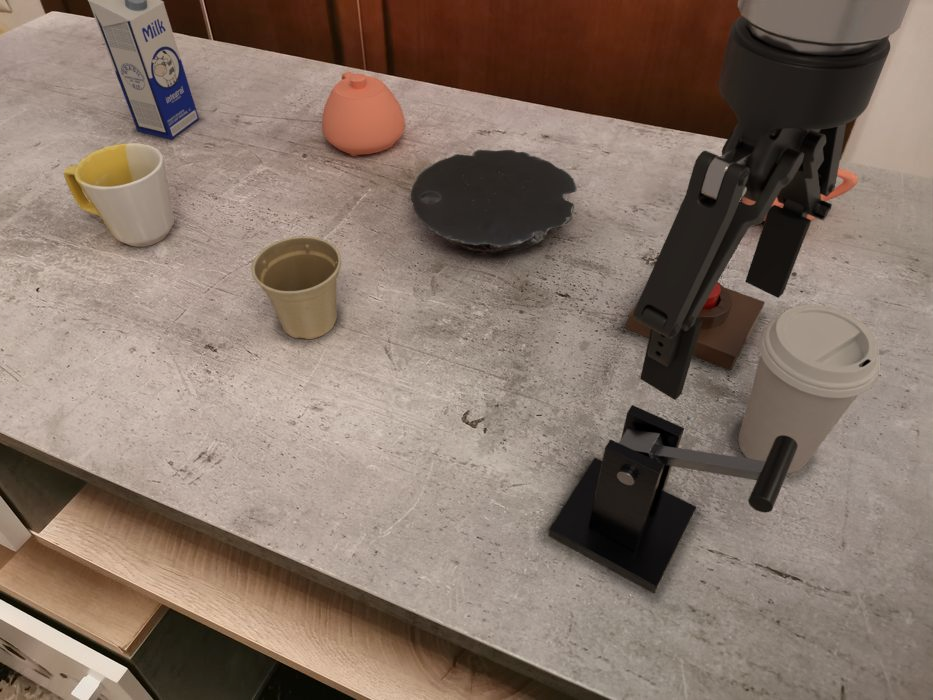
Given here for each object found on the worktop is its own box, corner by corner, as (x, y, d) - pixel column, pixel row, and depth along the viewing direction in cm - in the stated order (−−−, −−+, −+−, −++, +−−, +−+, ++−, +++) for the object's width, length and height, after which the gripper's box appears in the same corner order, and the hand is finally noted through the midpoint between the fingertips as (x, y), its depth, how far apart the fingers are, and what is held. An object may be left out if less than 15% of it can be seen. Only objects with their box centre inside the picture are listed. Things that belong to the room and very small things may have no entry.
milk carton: (166, 110, 118) (122, -20, 104) (200, 118, 116) (160, -14, 102) (136, 131, 113) (86, -2, 99) (171, 140, 112) (124, 5, 97)
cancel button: (721, 295, 80) (725, 283, 79) (710, 314, 78) (714, 302, 77) (690, 283, 81) (693, 271, 80) (678, 302, 79) (681, 290, 78)
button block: (759, 315, 83) (769, 289, 80) (730, 371, 77) (740, 344, 74) (660, 279, 87) (666, 253, 85) (625, 328, 82) (631, 302, 79)
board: (378, 246, 93) (373, 213, 89) (457, 162, 106) (456, 130, 102) (536, 298, 85) (539, 264, 82) (600, 201, 99) (605, 168, 95)
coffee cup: (750, 496, 66) (802, 389, 56) (705, 416, 73) (745, 306, 62) (845, 478, 68) (915, 369, 57) (793, 400, 74) (847, 290, 63)
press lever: (800, 456, 52) (795, 432, 51) (775, 519, 48) (769, 494, 47) (644, 434, 60) (636, 412, 59) (613, 486, 56) (604, 464, 55)
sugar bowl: (337, 170, 105) (327, 104, 98) (313, 125, 114) (301, 62, 107) (417, 151, 108) (412, 86, 101) (387, 109, 117) (381, 46, 110)
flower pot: (367, 310, 84) (358, 251, 78) (318, 362, 79) (304, 303, 73) (303, 284, 88) (289, 226, 81) (251, 333, 82) (232, 274, 76)
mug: (203, 223, 97) (180, 153, 89) (148, 267, 90) (117, 196, 83) (128, 197, 101) (99, 128, 94) (70, 237, 95) (34, 167, 87)
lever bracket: (694, 513, 65) (729, 425, 56) (654, 594, 60) (686, 512, 51) (593, 464, 69) (610, 374, 60) (547, 535, 64) (559, 449, 55)
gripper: (849, -54, 44) (756, 233, 59) (596, 86, 32) (560, 404, 47) (982, -26, 40) (846, 273, 55) (754, 146, 28) (659, 471, 43)
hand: (715, 334), depth 51 cm, fingers open, 13 cm apart
